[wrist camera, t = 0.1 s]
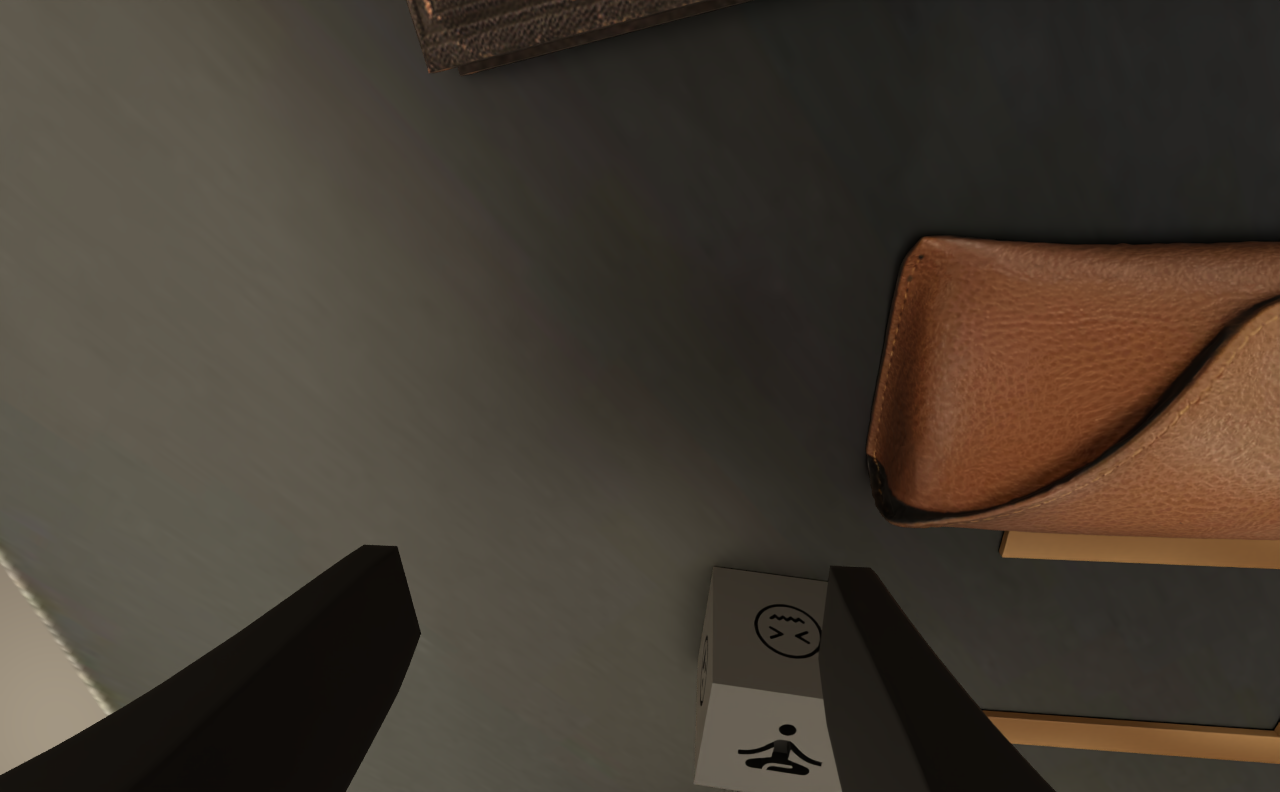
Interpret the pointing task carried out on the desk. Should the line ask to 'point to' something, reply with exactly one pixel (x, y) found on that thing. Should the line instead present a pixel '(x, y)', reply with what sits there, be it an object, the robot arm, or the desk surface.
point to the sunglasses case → (1081, 389)
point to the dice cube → (762, 686)
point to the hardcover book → (532, 26)
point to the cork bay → (1136, 733)
